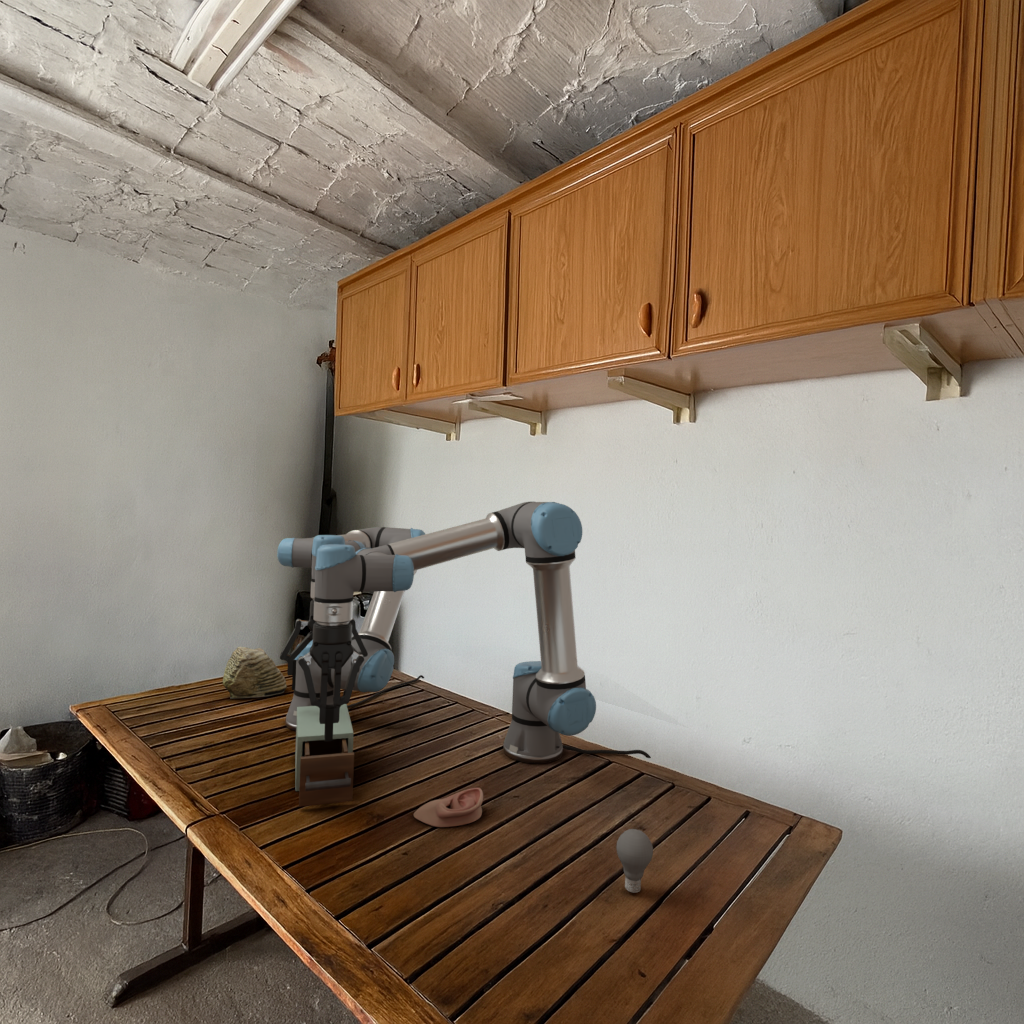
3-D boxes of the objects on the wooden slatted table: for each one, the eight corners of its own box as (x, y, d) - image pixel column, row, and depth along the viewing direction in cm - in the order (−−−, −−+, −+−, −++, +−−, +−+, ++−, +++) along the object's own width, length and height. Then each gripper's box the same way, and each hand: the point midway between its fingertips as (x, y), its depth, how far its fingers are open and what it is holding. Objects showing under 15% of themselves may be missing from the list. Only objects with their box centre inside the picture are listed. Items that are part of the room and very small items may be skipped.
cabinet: (351, 785, 139) (353, 732, 139) (295, 791, 136) (297, 737, 135) (344, 750, 158) (346, 703, 158) (295, 754, 154) (297, 706, 154)
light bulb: (610, 879, 108) (613, 822, 108) (644, 879, 109) (647, 822, 109) (619, 902, 102) (622, 840, 102) (655, 901, 103) (658, 840, 103)
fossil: (218, 695, 195) (220, 647, 195) (278, 685, 208) (279, 640, 207) (228, 703, 189) (230, 653, 188) (289, 692, 201) (290, 645, 201)
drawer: (354, 813, 126) (356, 764, 125) (299, 819, 122) (300, 769, 122) (345, 764, 148) (347, 723, 148) (298, 768, 145) (299, 726, 144)
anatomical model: (408, 802, 124) (427, 778, 135) (407, 822, 124) (427, 796, 136) (473, 812, 122) (488, 786, 133) (473, 832, 122) (487, 805, 133)
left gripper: (270, 602, 145) (267, 694, 145) (381, 601, 153) (377, 688, 153) (272, 597, 152) (268, 685, 152) (377, 596, 160) (373, 679, 161)
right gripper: (298, 626, 121) (294, 748, 121) (368, 624, 125) (363, 743, 126) (298, 618, 128) (294, 734, 128) (364, 617, 132) (359, 729, 133)
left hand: (323, 687), depth 153 cm, fingers open, 13 cm apart
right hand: (328, 738), depth 127 cm, fingers closed
